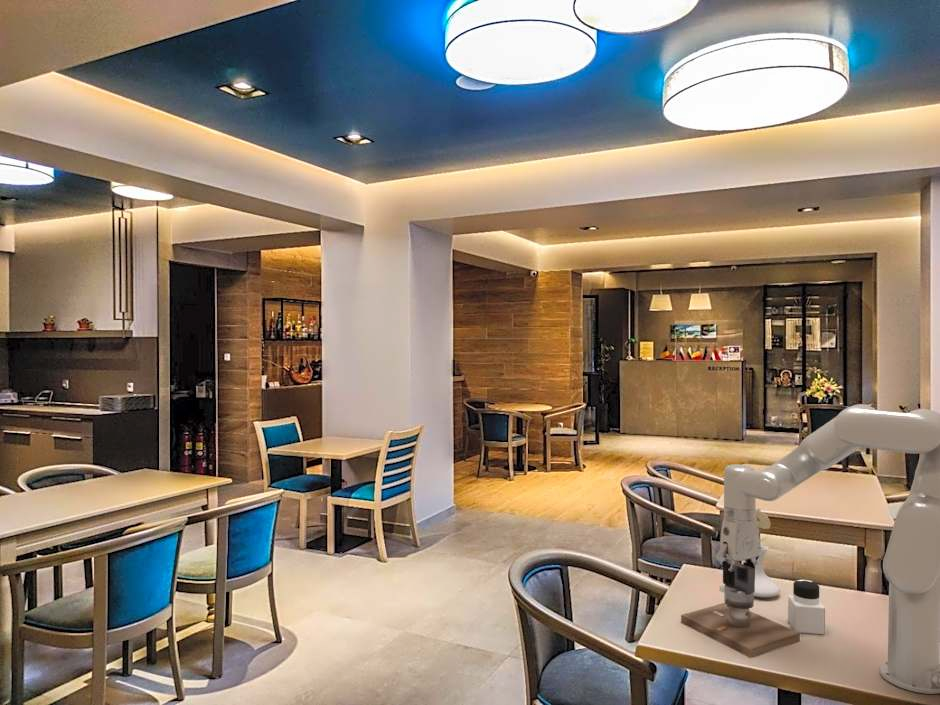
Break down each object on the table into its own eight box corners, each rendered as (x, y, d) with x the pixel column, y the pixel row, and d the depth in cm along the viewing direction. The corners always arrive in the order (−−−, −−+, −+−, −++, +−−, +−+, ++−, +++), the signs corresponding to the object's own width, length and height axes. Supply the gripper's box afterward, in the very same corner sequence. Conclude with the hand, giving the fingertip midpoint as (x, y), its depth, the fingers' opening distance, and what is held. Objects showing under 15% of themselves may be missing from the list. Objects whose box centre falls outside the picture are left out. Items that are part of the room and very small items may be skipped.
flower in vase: (788, 600, 191) (788, 514, 190) (749, 602, 190) (750, 515, 190) (764, 583, 204) (765, 502, 203) (728, 584, 203) (729, 503, 203)
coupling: (760, 605, 170) (760, 567, 170) (741, 611, 167) (742, 571, 166) (730, 593, 178) (730, 556, 178) (711, 598, 175) (711, 560, 175)
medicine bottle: (825, 635, 169) (825, 588, 169) (795, 632, 171) (795, 586, 171) (816, 623, 176) (816, 578, 176) (787, 620, 178) (787, 576, 178)
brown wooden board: (799, 640, 166) (800, 613, 166) (750, 657, 158) (750, 628, 158) (728, 608, 186) (728, 583, 186) (681, 622, 177) (681, 596, 177)
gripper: (727, 521, 164) (727, 593, 164) (774, 512, 172) (774, 580, 172) (703, 514, 170) (703, 583, 171) (750, 505, 178) (749, 571, 179)
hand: (738, 581), depth 171 cm, fingers open, 6 cm apart
